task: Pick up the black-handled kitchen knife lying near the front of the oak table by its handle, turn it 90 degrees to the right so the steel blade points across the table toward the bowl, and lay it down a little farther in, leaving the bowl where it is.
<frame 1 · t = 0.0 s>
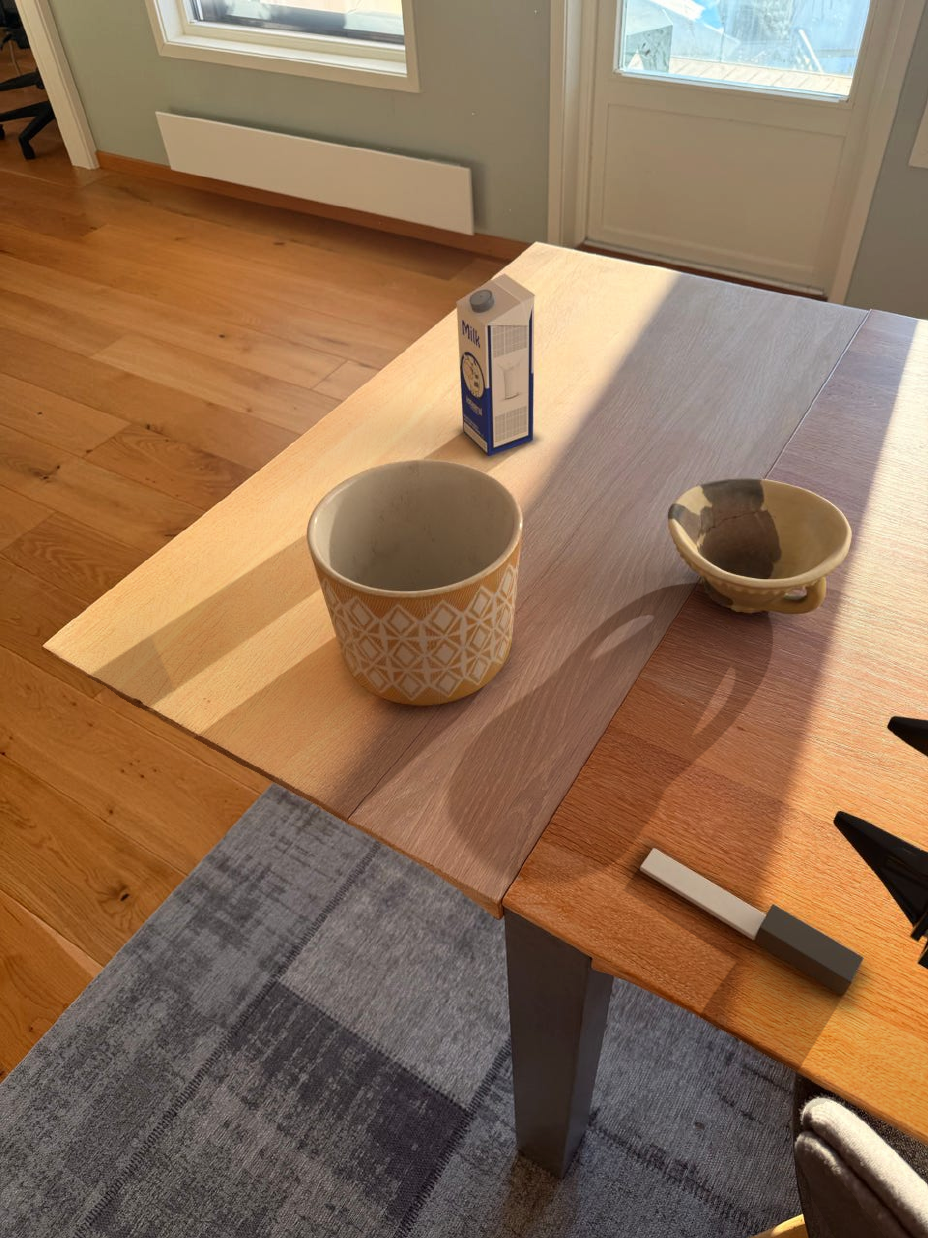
hand: (863, 767, 58), 18 cm above the table, tool horizontal, fingers open, 9 cm apart
planter: (427, 649, 93), on the table
knife: (849, 984, 67), on the table
milk carton: (497, 437, 119), on the table
bowl: (741, 592, 97), on the table
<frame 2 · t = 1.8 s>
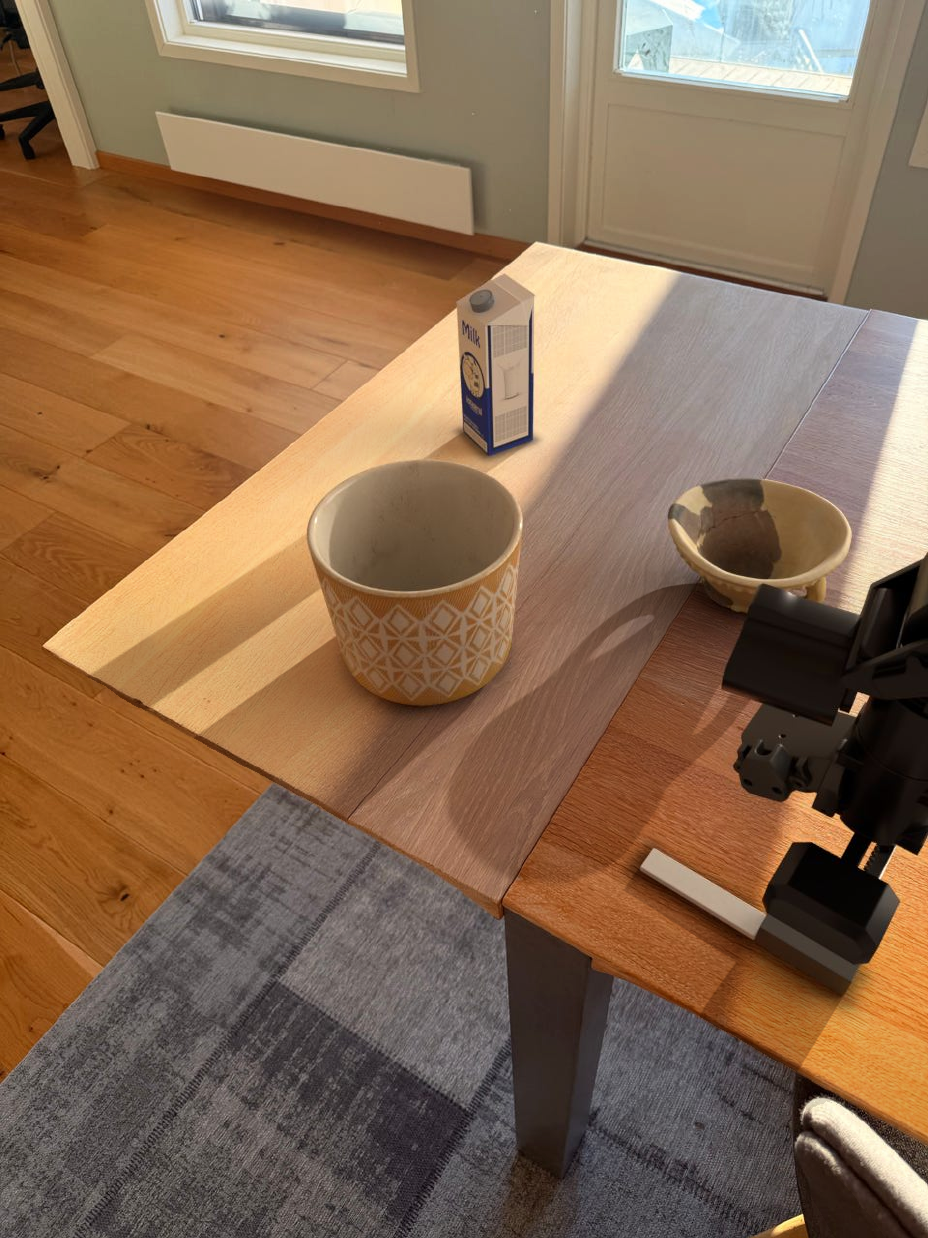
hand: (841, 882, 60), 11 cm above the table, tool pointing down, fingers open, 9 cm apart
nothing on the table moved.
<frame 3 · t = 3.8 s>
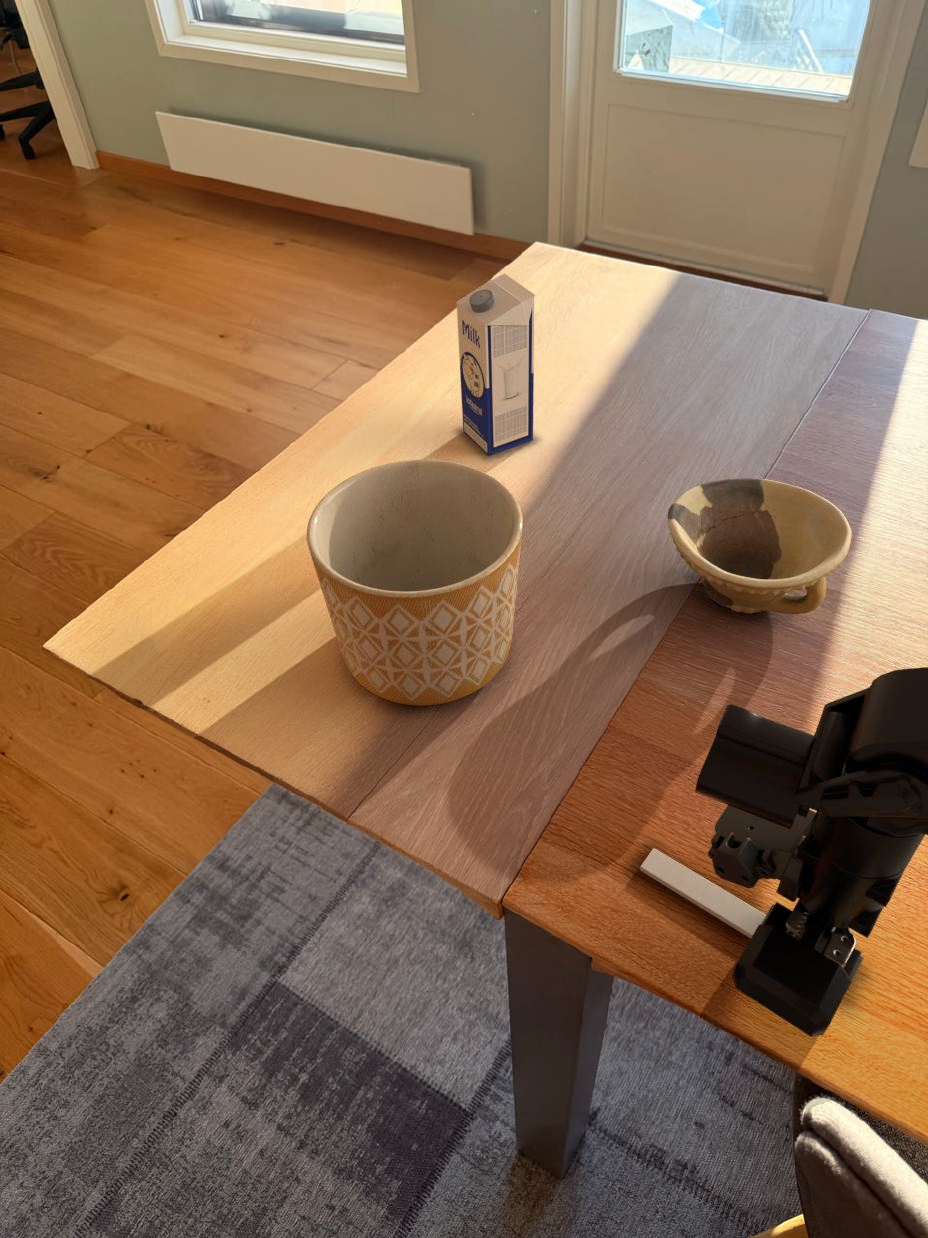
hand: (807, 950, 67), 1 cm above the table, tool pointing down, fingers closed on knife, 2 cm apart
knife: (849, 984, 67), on the table, touching gripper
everything else where it was.
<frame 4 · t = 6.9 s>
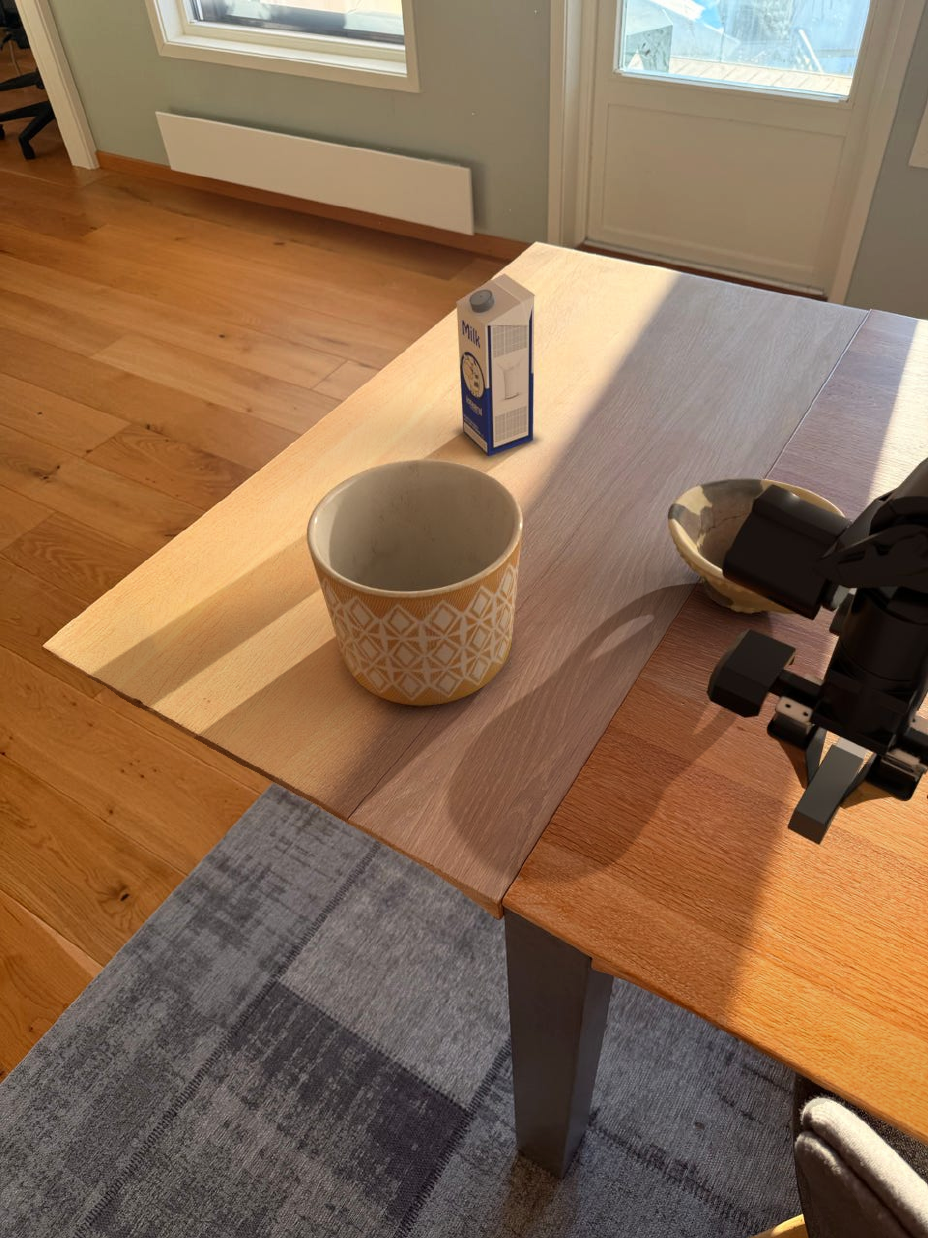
hand: (825, 794, 65), 11 cm above the table, tool pointing down, fingers closed on knife, 2 cm apart
knife: (802, 837, 64), point 10 cm above the table, touching gripper
everything else where it was.
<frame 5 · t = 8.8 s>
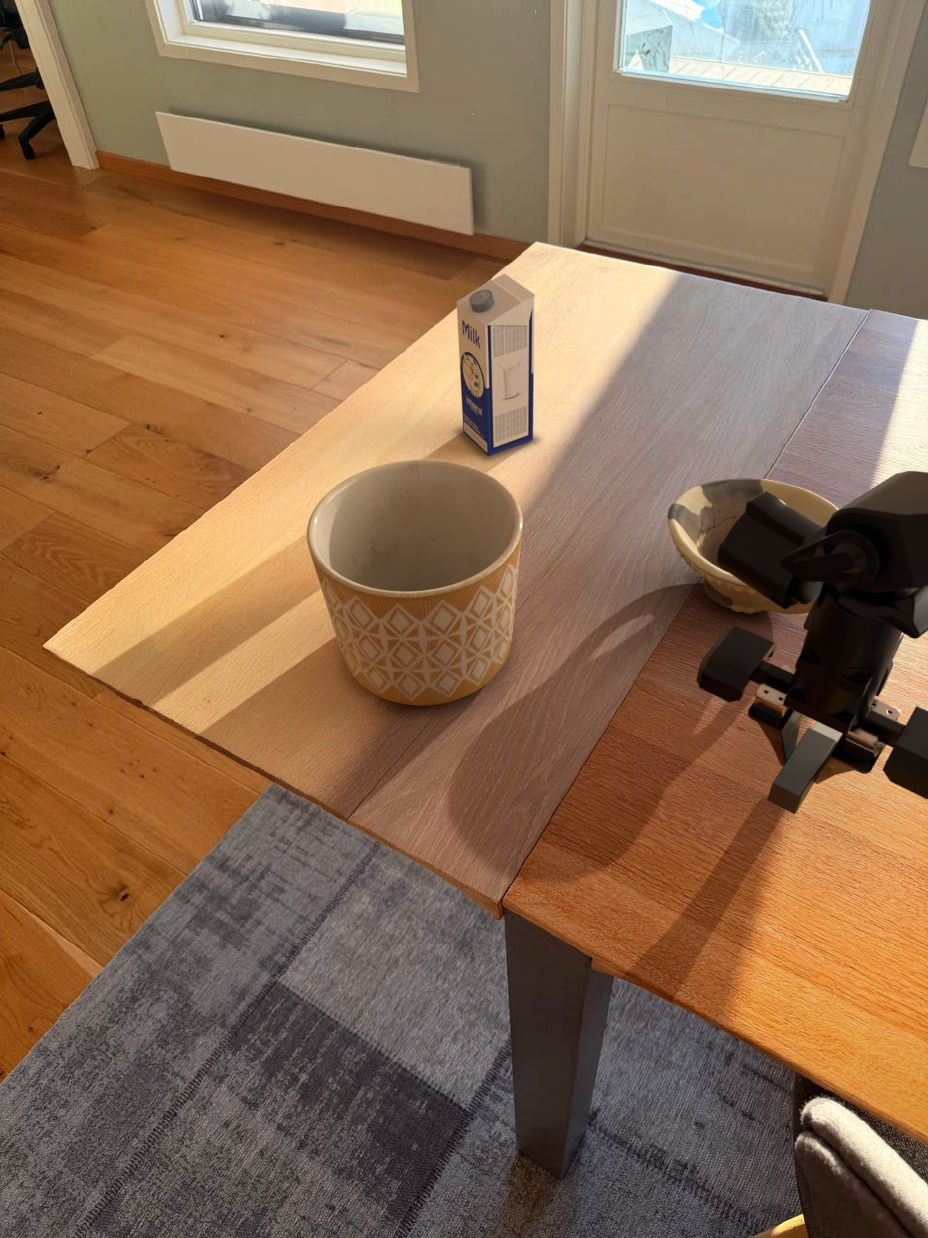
hand: (801, 771, 74), 5 cm above the table, tool pointing down, fingers closed on knife, 2 cm apart
knife: (780, 807, 73), point 4 cm above the table, touching gripper
everything else where it was.
when the fingers open (1 cm above the table, at t = 10.1 s): knife stays where it is, on the table.
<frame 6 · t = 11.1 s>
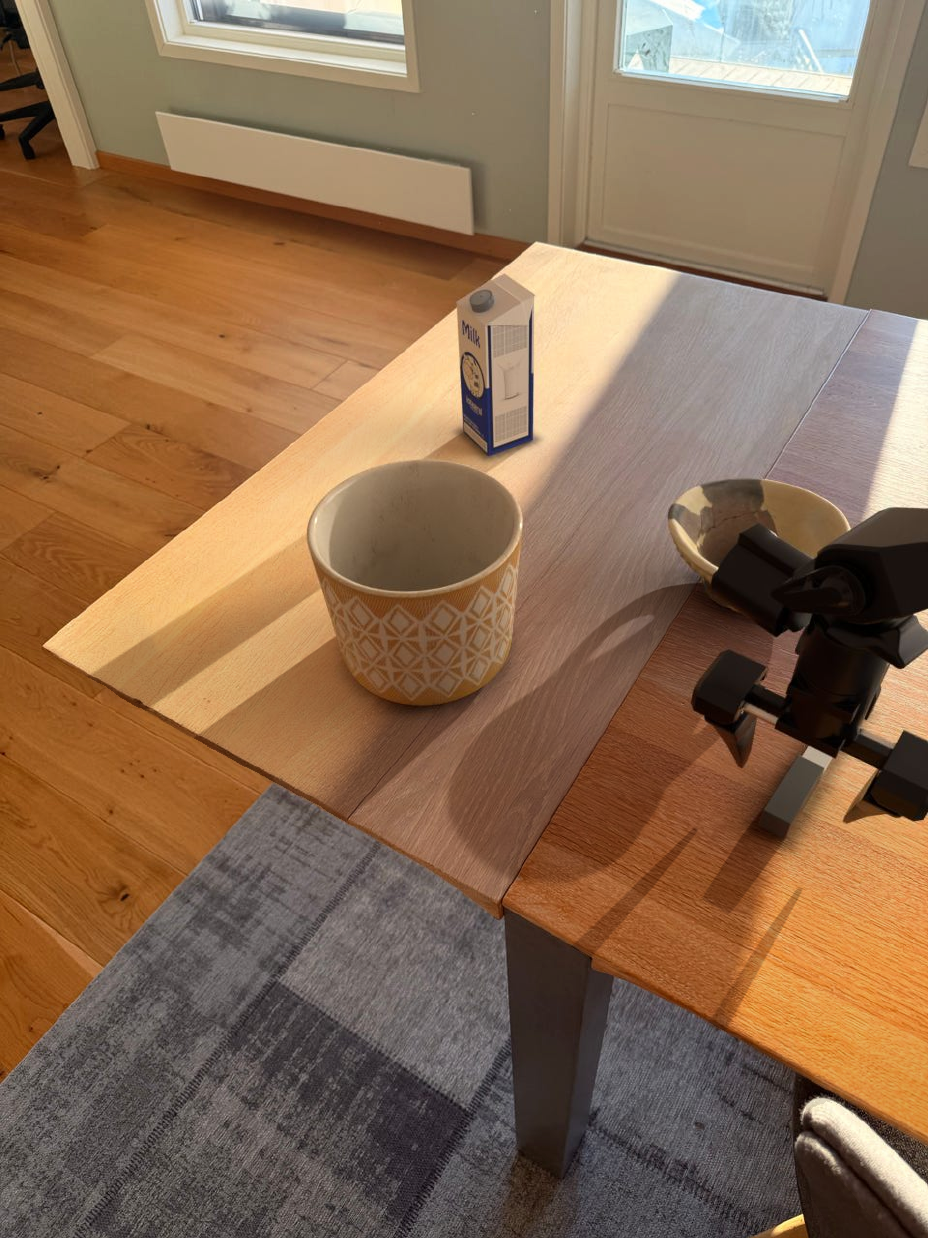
hand: (793, 790, 76), 2 cm above the table, tool pointing down, fingers open, 9 cm apart
knife: (770, 833, 76), on the table
everything else where it was.
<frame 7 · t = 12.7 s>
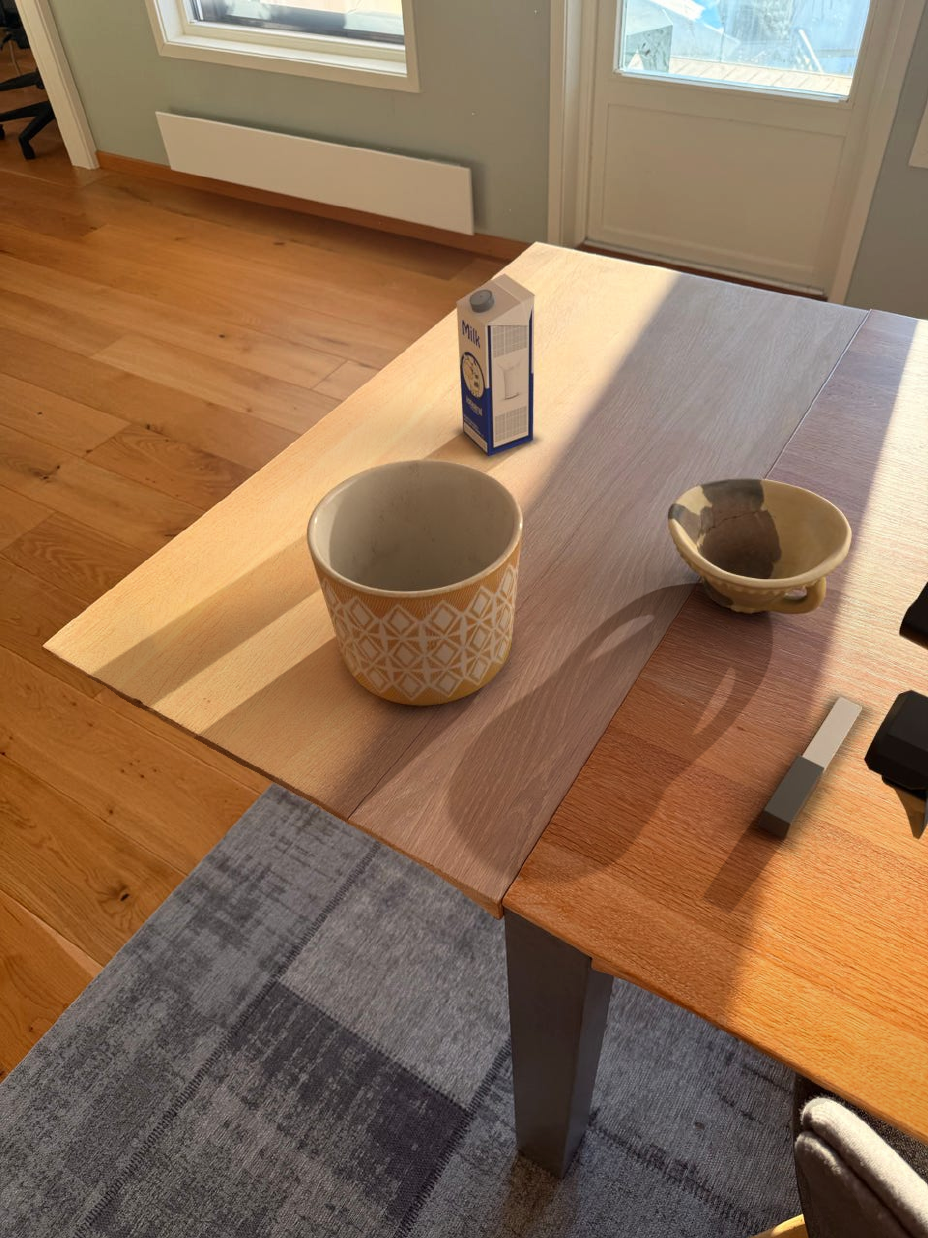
nothing on the table moved.
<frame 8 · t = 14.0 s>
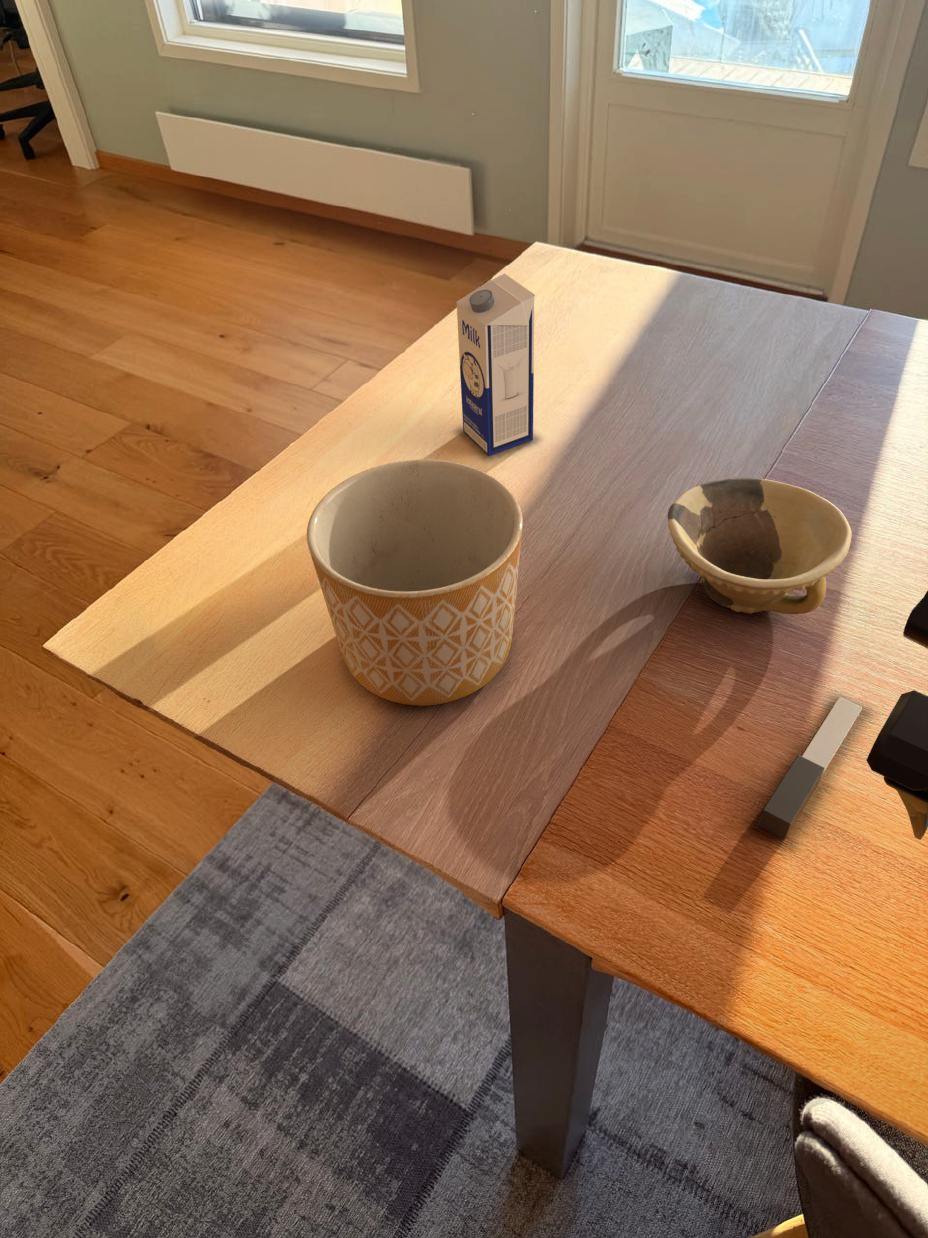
nothing on the table moved.
at the end: knife 0.1 cm from the target spot, on the table; knife tilted 0°; bowl moved 0.2 cm from its start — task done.
